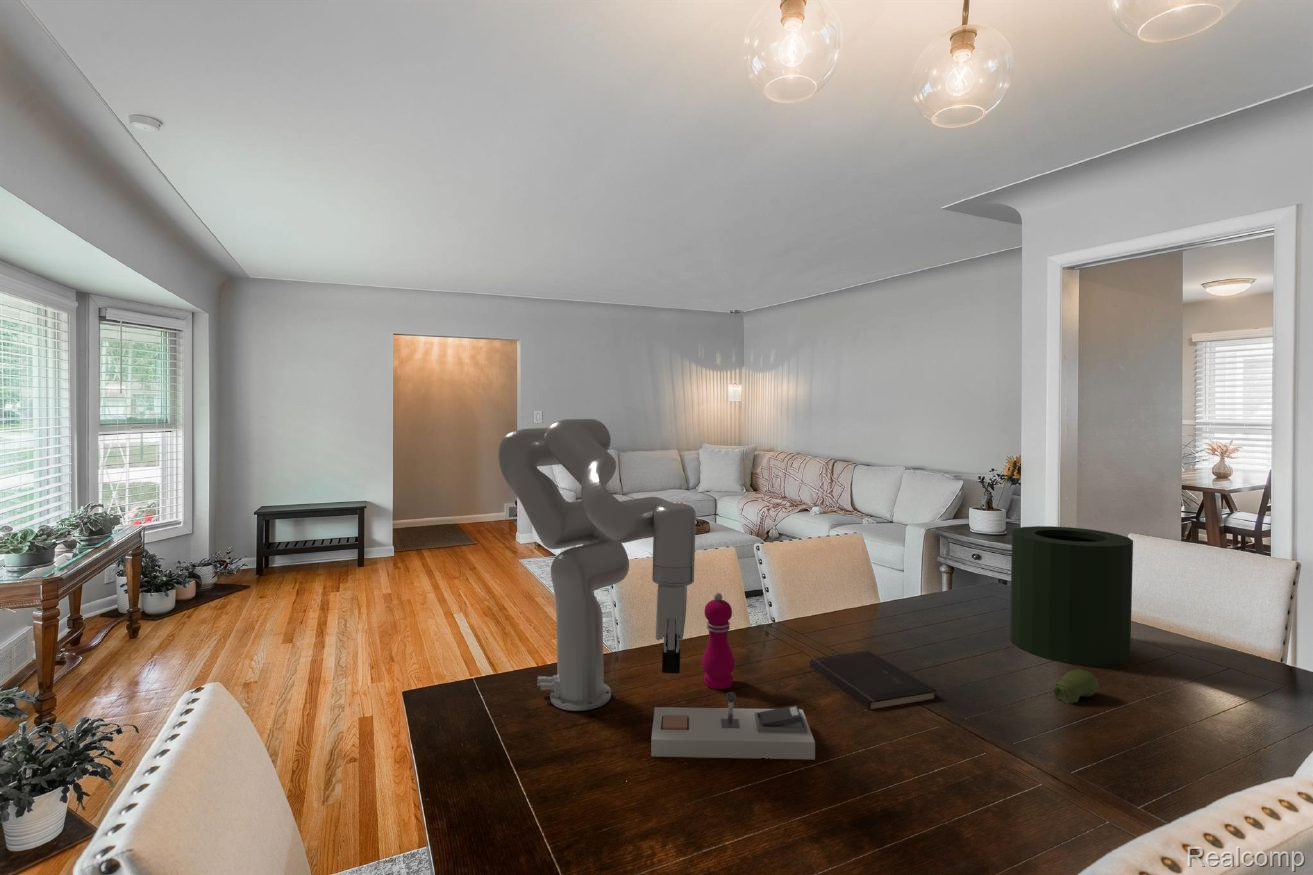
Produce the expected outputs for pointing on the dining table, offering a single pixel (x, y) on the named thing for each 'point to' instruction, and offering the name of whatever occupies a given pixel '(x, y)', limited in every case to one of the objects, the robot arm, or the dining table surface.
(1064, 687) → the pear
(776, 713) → the panel
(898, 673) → the hardcover book
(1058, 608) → the flower pot
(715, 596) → the pepper mill
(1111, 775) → the dining table surface
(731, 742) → the control panel
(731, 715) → the toggle lever
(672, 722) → the push button
